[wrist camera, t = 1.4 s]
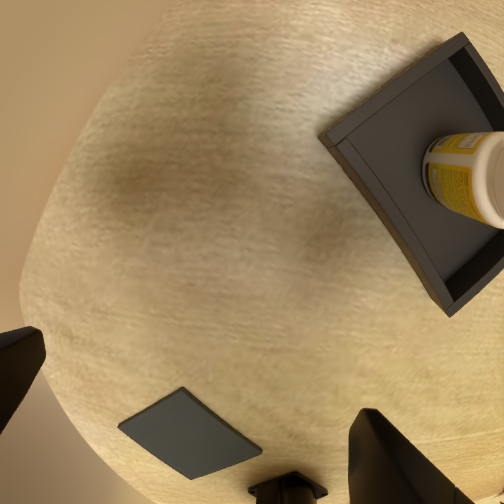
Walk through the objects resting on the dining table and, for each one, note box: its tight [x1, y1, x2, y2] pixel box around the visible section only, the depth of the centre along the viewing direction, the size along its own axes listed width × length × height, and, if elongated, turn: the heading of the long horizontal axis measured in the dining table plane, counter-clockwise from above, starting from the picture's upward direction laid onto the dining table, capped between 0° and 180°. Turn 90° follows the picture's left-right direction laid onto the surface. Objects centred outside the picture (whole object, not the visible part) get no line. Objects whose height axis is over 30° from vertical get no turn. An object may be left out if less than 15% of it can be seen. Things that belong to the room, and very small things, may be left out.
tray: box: [318, 32, 504, 318], centre depth 16 cm, size 14×12×3 cm
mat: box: [117, 387, 263, 480], centre depth 26 cm, size 10×10×1 cm
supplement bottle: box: [422, 132, 504, 229], centre depth 13 cm, size 5×5×8 cm
